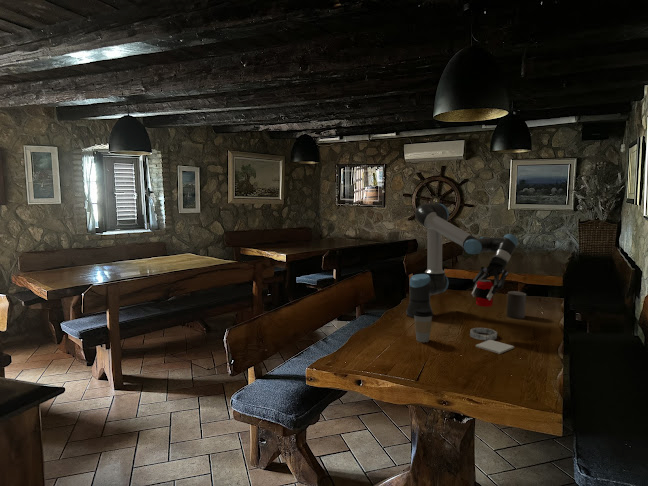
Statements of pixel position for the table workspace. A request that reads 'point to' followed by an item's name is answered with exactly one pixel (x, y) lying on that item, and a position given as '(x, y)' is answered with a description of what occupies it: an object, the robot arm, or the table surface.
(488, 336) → the steel ring holder
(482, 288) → the soda can
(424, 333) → the coffee cup
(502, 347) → the cream coaster
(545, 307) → the table surface
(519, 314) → the pillar candle
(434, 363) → the table surface
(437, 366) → the table surface
